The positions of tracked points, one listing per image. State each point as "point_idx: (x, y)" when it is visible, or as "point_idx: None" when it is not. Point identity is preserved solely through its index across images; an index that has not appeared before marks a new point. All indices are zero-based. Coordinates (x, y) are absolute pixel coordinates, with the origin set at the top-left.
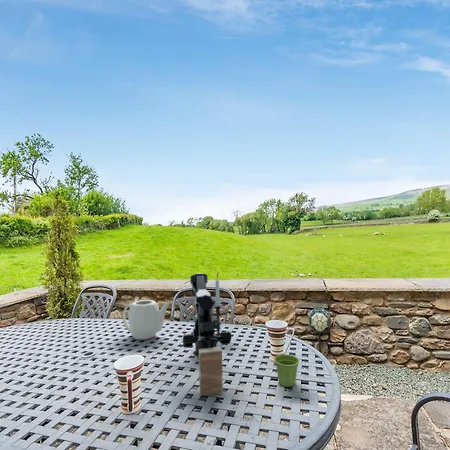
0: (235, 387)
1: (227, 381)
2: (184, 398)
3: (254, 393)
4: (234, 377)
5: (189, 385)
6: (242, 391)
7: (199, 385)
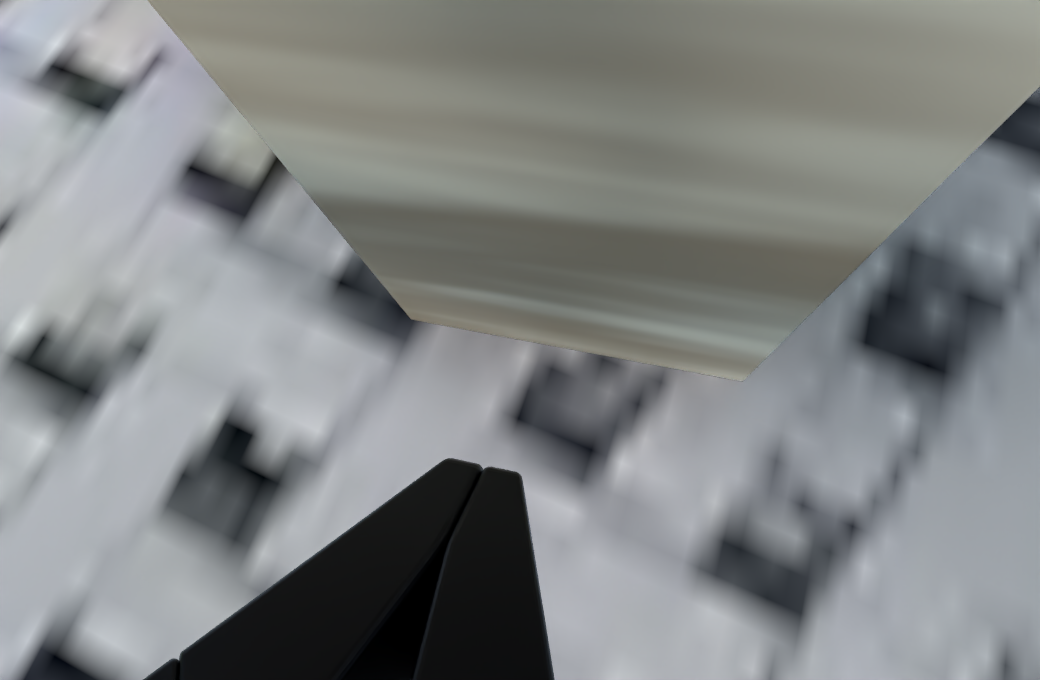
0: (222, 281)
1: (241, 490)
2: (1005, 273)
3: (95, 73)
4: (83, 568)
5: (875, 632)
6: (194, 159)
7: (764, 355)
